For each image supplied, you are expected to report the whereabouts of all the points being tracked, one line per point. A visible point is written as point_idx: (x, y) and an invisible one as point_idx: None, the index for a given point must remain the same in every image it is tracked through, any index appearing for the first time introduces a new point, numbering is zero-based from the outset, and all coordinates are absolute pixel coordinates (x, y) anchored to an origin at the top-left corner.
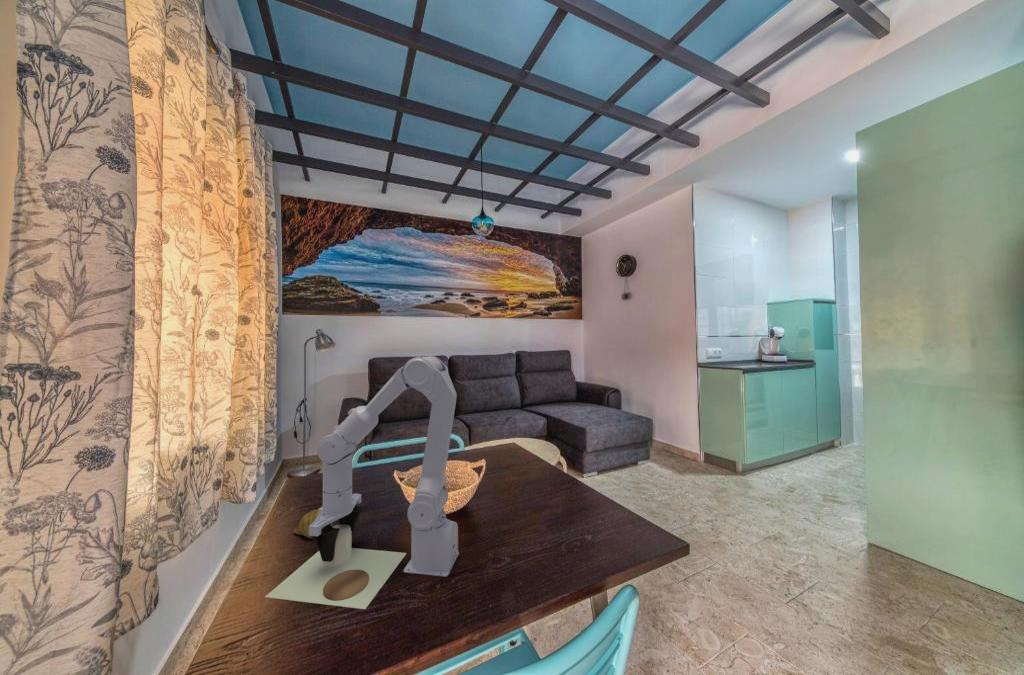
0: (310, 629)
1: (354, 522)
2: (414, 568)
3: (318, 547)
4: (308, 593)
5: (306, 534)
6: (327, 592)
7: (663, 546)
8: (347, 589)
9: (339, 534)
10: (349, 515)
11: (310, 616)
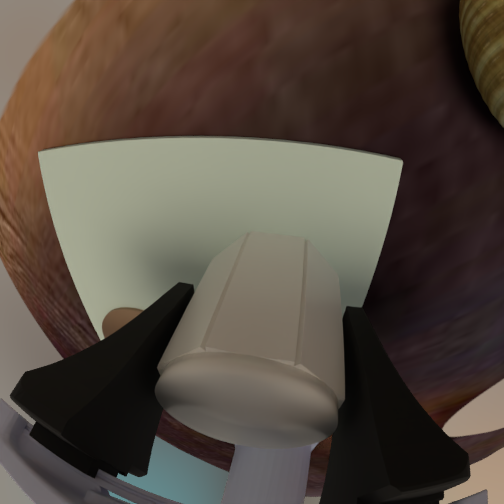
0: (60, 315)
1: (330, 458)
2: None
3: (121, 330)
4: (91, 276)
5: (462, 9)
6: (110, 325)
7: (305, 495)
8: None
9: (204, 427)
10: (334, 493)
11: (70, 304)
